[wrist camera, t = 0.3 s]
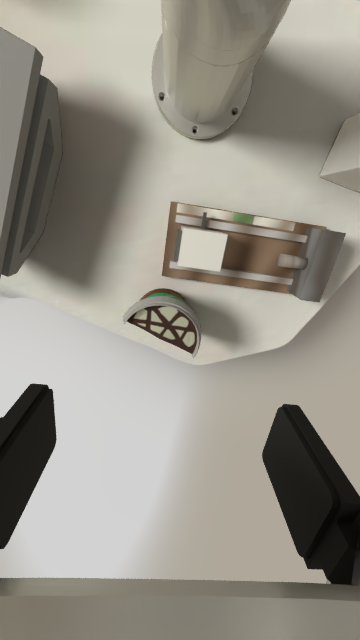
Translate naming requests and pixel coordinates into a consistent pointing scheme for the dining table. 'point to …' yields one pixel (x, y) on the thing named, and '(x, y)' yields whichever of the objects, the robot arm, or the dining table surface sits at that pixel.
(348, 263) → the dining table surface
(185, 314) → the food container
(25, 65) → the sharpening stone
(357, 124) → the milk carton
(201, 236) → the gauge carriage
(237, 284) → the gauge board
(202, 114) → the robot arm
